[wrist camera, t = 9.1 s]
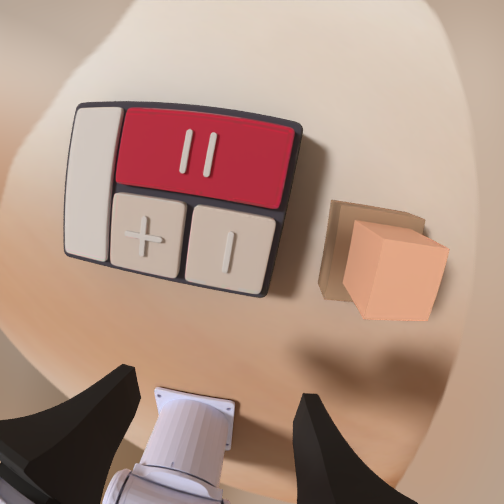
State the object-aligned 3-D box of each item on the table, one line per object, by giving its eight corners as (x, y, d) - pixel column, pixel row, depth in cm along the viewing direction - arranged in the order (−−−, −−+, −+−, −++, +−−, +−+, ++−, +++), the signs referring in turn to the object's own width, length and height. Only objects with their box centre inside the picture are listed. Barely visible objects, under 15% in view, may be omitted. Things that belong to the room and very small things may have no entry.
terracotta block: (396, 287, 16) (427, 320, 12) (342, 282, 17) (363, 319, 12) (410, 229, 15) (449, 249, 11) (354, 219, 15) (383, 238, 11)
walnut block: (388, 287, 20) (404, 304, 17) (317, 281, 20) (324, 299, 17) (405, 211, 18) (425, 219, 15) (330, 199, 18) (341, 205, 15)
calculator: (266, 305, 17) (57, 259, 16) (264, 278, 21) (86, 242, 20) (307, 121, 13) (70, 101, 13) (295, 131, 18) (101, 109, 17)
